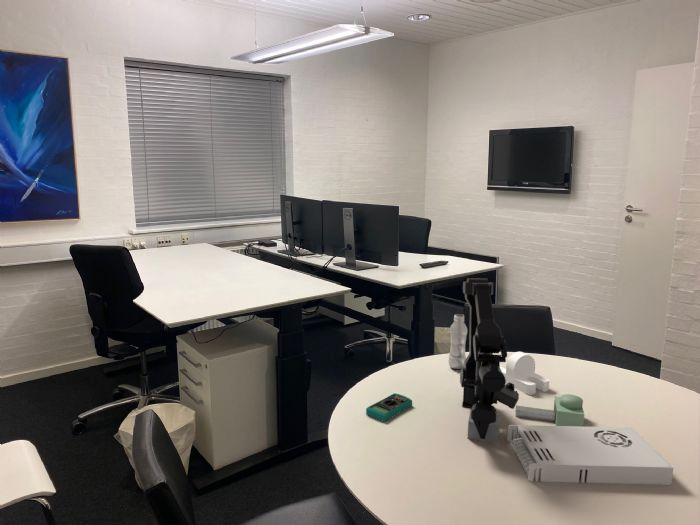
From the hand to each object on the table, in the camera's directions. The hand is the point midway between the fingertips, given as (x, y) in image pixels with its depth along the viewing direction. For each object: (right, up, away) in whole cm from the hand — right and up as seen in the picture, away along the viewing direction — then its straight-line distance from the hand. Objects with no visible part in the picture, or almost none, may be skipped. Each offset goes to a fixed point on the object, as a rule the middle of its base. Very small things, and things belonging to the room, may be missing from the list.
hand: (483, 430), depth 141 cm
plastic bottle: (+3, +7, +49) cm, 50 cm away
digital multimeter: (-25, +1, +15) cm, 29 cm away
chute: (0, -1, 0) cm, 2 cm away
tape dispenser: (+22, +4, +36) cm, 42 cm away
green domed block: (+21, 0, +10) cm, 24 cm away
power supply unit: (+22, -5, -12) cm, 25 cm away
